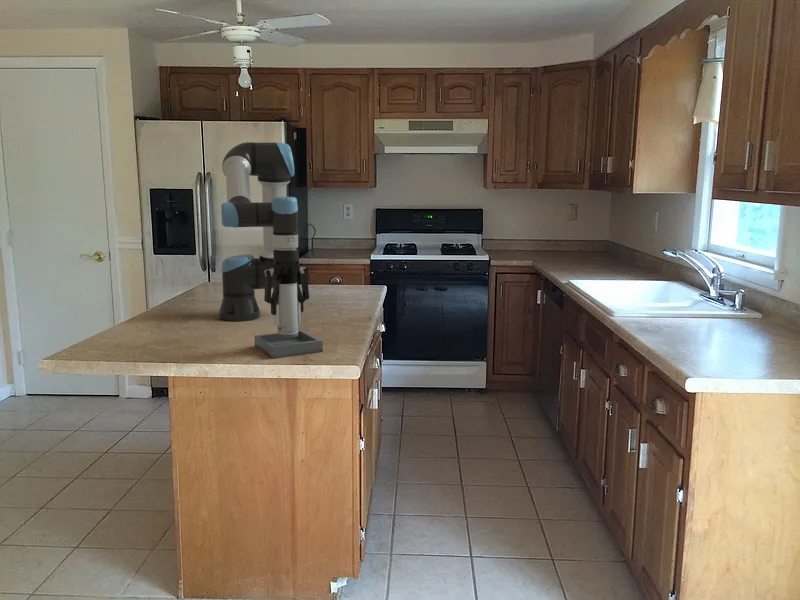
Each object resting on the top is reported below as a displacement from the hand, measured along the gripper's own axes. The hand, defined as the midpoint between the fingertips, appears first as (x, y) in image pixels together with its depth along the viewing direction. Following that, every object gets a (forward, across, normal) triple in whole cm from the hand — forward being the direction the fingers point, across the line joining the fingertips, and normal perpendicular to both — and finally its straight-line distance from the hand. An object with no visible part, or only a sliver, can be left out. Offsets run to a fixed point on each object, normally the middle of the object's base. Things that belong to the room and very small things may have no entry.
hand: (287, 323), depth 201 cm
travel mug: (+4, 0, 0) cm, 4 cm away
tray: (+8, 0, 0) cm, 8 cm away
